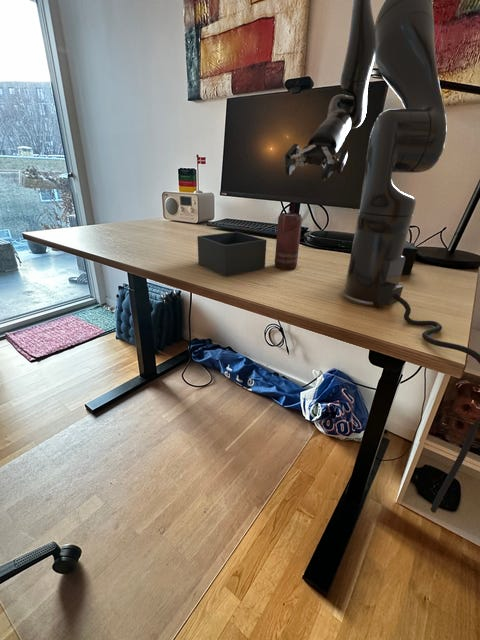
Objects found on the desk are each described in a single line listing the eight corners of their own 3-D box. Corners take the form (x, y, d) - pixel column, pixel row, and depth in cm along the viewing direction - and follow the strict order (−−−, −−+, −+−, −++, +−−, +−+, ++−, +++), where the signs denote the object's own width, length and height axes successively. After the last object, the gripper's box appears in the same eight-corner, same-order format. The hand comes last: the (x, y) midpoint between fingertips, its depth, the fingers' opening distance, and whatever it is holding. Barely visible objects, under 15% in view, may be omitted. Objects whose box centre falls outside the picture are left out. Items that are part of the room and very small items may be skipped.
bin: (264, 267, 82) (266, 239, 78) (225, 276, 74) (225, 245, 71) (236, 257, 91) (236, 231, 88) (198, 263, 84) (197, 236, 80)
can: (270, 268, 82) (274, 214, 75) (279, 262, 87) (283, 211, 80) (291, 271, 79) (297, 216, 73) (299, 265, 84) (305, 213, 78)
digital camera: (415, 275, 79) (423, 248, 76) (393, 273, 80) (400, 247, 77) (404, 264, 88) (411, 240, 85) (384, 263, 89) (390, 239, 86)
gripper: (301, 121, 76) (276, 154, 69) (358, 126, 71) (337, 162, 64) (300, 151, 83) (277, 184, 75) (352, 158, 78) (333, 194, 70)
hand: (305, 174), depth 70 cm, fingers open, 8 cm apart
